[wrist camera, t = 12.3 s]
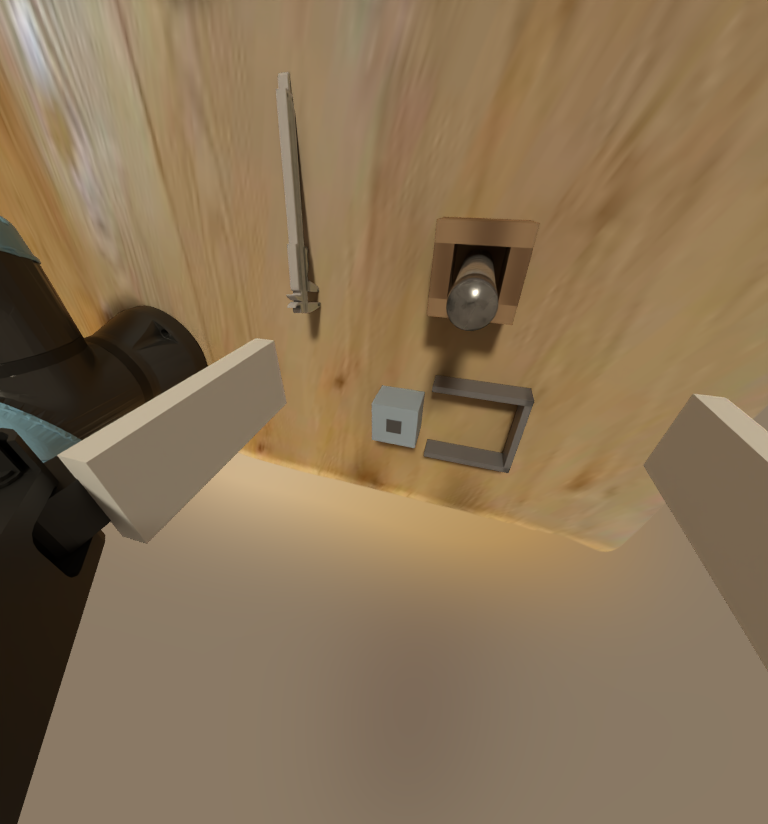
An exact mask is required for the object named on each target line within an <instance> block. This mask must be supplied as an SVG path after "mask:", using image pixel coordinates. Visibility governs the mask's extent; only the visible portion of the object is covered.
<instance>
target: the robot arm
mask: <svg viewBox="0 0 768 824" xmlns="http://www.w3.org/2000/svg"><path fill="white" fill-rule="evenodd" d="M40 264H41V262H40V260H39V259H38V258H37V257H35V256H34V255H33V254H32V252H31V251H30V249H29V248H28V246H27V245H26V243H25V242H24V240H23V239H22V237H21V236H20V234H19V233H18V231H17V230H16V228H15V227H14V226H13V225H12V224H11V223H10V222H9V221H7V220H6V219H5V218H3V217H2V216H0V824H17V823H18V819H19V816H20V813H21V810H22V807H23V803H24V800H25V797H26V794H27V791H28V787H29V784H30V781H31V778H32V775H33V771H34V768H35V765H36V761H37V759H38V755H39V752H40V749H41V745H42V742H43V739H44V736H45V733H46V730H47V726H48V723H49V720H50V717H51V713H52V710H53V707H54V704H55V700H56V698H57V694H58V691H59V688H60V685H61V681H62V678H63V675H64V672H65V669H66V665H67V662H68V659H69V656H70V653H71V649H72V646H73V643H74V640H75V637H76V633H77V630H78V627H79V624H80V621H81V617H82V614H83V610H84V608H85V604H86V601H87V598H88V595H89V592H90V588H91V585H92V582H93V579H94V576H95V572H96V569H97V566H98V563H99V559H100V556H101V553H102V550H103V547H104V543H105V534H104V533H103V532H102V531H101V529H102V528H103V527H105V526H106V525H107V524H108V523H109V522H110V521H111V522H112V523H113V525H114V526H115V527H116V529H117V530H118V531H119V532H120V533H121V535H122V536H124V537H127V538H130V539H133V540H137V541H140V542H143V543H146V544H147V543H148V542H149V541H150V540H151V539H152V538H153V537H154V536H155V535H156V534H157V533H158V532H159V531H160V530H161V529H162V528H163V527H164V526H165V525H166V524H167V523H168V522H169V521H170V520H171V519H172V518H173V517H174V516H175V515H176V514H177V513H178V512H179V511H180V510H181V509H182V508H183V507H184V506H185V505H186V504H187V503H188V502H189V501H190V500H191V499H192V498H193V497H194V496H195V495H196V494H197V493H198V492H199V491H200V490H201V489H202V488H203V487H204V486H205V485H206V484H207V483H208V482H209V481H210V480H211V479H212V478H213V477H214V476H215V475H216V474H217V473H218V472H219V471H220V470H221V469H222V468H223V466H225V465H226V464H227V462H229V461H230V460H231V459H232V458H233V457H234V456H235V455H236V454H237V453H238V452H239V451H240V450H241V449H242V448H243V447H244V446H245V445H246V444H247V443H248V442H249V441H250V440H251V439H252V438H253V436H254V435H255V434H256V433H257V432H258V431H259V430H260V429H261V428H262V427H263V426H264V425H265V424H266V423H267V422H268V421H269V420H270V419H271V418H272V417H273V416H274V415H275V414H276V413H277V412H278V411H279V410H280V409H281V408H282V407H283V406H284V405H285V404H286V398H285V393H284V388H283V383H282V378H281V373H280V368H279V363H278V358H277V353H276V348H275V343H274V341H273V340H266V339H258V338H255V339H254V340H252V341H250V342H249V343H247V344H245V345H243V346H242V347H240V348H238V349H237V350H235V351H233V352H232V353H230V354H228V355H226V356H225V357H223V358H221V359H220V360H218V361H216V362H215V363H213V364H211V365H209V366H208V367H207V365H206V361H205V358H204V355H203V353H202V351H201V349H200V347H199V345H198V344H197V342H196V341H195V339H194V338H193V337H192V335H191V334H190V333H189V332H188V331H187V330H186V328H185V327H184V326H183V325H181V324H180V323H179V322H178V321H177V320H176V319H174V318H173V317H172V316H170V315H169V314H167V313H165V312H163V311H161V310H159V309H157V308H154V307H150V306H137V307H134V308H131V309H127V310H124V311H122V312H120V313H118V314H117V315H116V316H115V317H113V318H112V319H111V320H110V321H109V322H107V323H106V324H105V325H104V326H102V327H101V328H100V329H99V330H98V331H96V332H95V333H94V334H93V335H91V336H89V337H86V338H83V336H82V335H81V333H80V331H79V329H78V328H77V326H76V324H75V323H74V321H73V319H72V318H71V316H70V314H69V313H68V311H67V309H66V308H65V306H64V304H63V303H62V301H61V299H60V297H59V296H58V294H57V292H56V291H55V289H54V287H53V286H52V284H51V282H50V281H49V279H48V277H47V276H46V274H45V272H44V271H43V269H42V267H41V266H40ZM644 467H645V469H646V470H647V472H648V474H649V475H650V477H651V479H652V480H653V482H654V484H655V485H656V487H657V489H658V490H659V492H660V494H661V495H662V497H663V499H664V500H665V502H666V503H667V505H668V507H669V508H670V510H671V512H672V513H673V515H674V517H675V518H676V520H677V522H678V523H679V525H680V526H681V528H682V530H683V531H684V533H685V535H686V537H687V538H688V540H689V541H690V543H691V545H692V546H693V548H694V550H695V552H696V553H697V555H698V556H699V558H700V560H701V561H702V563H703V565H704V566H705V568H706V570H707V571H708V573H709V575H710V576H711V578H712V580H713V581H714V583H715V585H716V586H717V588H718V590H719V591H720V593H721V595H722V596H723V598H724V600H725V601H726V603H727V604H728V606H729V608H730V609H731V611H732V613H733V614H734V616H735V618H736V619H737V621H738V623H739V624H740V626H741V628H742V629H743V631H744V632H745V634H746V636H747V637H748V639H749V641H750V643H751V644H752V646H753V648H754V649H755V651H756V652H757V654H758V656H759V657H760V659H761V661H762V662H763V664H764V666H765V667H766V669H767V671H768V431H767V430H765V429H764V428H763V427H762V426H760V425H759V424H758V423H757V422H755V421H754V420H753V419H752V418H750V417H749V416H748V415H747V414H746V413H744V412H743V411H742V410H741V409H739V408H738V407H737V406H736V405H734V404H733V403H732V402H731V401H729V400H728V399H727V398H724V397H716V396H708V395H700V394H692V396H691V397H690V399H689V400H688V402H687V403H686V404H685V406H684V407H683V409H682V410H681V412H680V413H679V415H678V416H677V417H676V419H675V420H674V422H673V423H672V425H671V426H670V428H669V429H668V430H667V432H666V433H665V435H664V436H663V438H662V439H661V440H660V442H659V443H658V445H657V446H656V448H655V449H654V451H653V452H652V453H651V455H650V456H649V458H648V459H647V461H646V462H645V464H644Z"/></svg>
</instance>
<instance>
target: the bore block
mask: <svg viewBox="0 0 768 824" xmlns="http://www.w3.org/2000/svg"><path fill="white" fill-rule="evenodd" d="M539 225H540V223H537V222H534V221H531V220H510V219H485V218H461V217H442V218H439V219H437V224H436V233H435V243H434V252H433V262H432V271H431V281H430V290H429V300H428V309H427V316H435V317H444V318H449V317H448V315H447V311H446V304H447V300H448V297H449V294H450V292H451V289H452V287H453V286H454V284H455V281H456V279H457V276H458V274H459V271H460V269H461V266H462V264H463V261H464V259H465V257H466V256H467V255H468V254H469V253H470V252H472V251H474V250H478V249H481V250H485V251H487V252H488V253H490V255H491V256H492V259H493V265H494V274H495V283H496V288H497V294H498V310H497V313H496V315H495V317H494V318H493V320H492V321H491V322H490V323H499V324H508V325H512V324H513V321H514V317H515V313H516V310H517V306H518V302H519V299H520V295H521V291H522V288H523V284H524V280H525V277H526V273H527V269H528V266H529V262H530V258H531V255H532V251H533V247H534V244H535V240H536V236H537V232H538V229H539Z"/></svg>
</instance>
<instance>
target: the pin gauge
mask: <svg viewBox="0 0 768 824" xmlns="http://www.w3.org/2000/svg"><path fill="white" fill-rule="evenodd" d="M497 310H498V294H497V288H496V283H495V274H494V265H493V259H492V256H491V255H490V253H488V252H487V251H485V250H481V249H478V250H474V251H472V252H470V253H469V254H468V255H467V256H466V257H465V259H464V261H463V264H462V266H461V269H460V271H459V274H458V276H457V279H456V281H455V284H454V286H453V287H452V289H451V292H450V294H449V297H448V300H447V304H446V311H447V315H448V317H449V319H450V321H451V322H452V323H453V324H454V325H455V326H456V327H458V328H460V329H462V330H466V331H474V330H478V329H481V328H483V327H485V326H486V325H488V324H489V323H490V322H491V321H492V320H493V318H494V317H495V315H496V313H497Z"/></svg>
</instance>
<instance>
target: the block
mask: <svg viewBox="0 0 768 824" xmlns="http://www.w3.org/2000/svg"><path fill="white" fill-rule="evenodd" d="M424 394H425V392H422V391H415V390H409V389H402V388H396V387H389V386H383V385H382V387H381V389H380V390H379V392H378V394H377V395H376V397H375V399H374V401H373V402H372V440H376V441H381V442H386V443H391V444H396V445H401V446H406V447H411V448H415V445H416V442H417V438H418V435H419V432H420V428H421V421H422V412H423V403H424Z"/></svg>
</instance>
